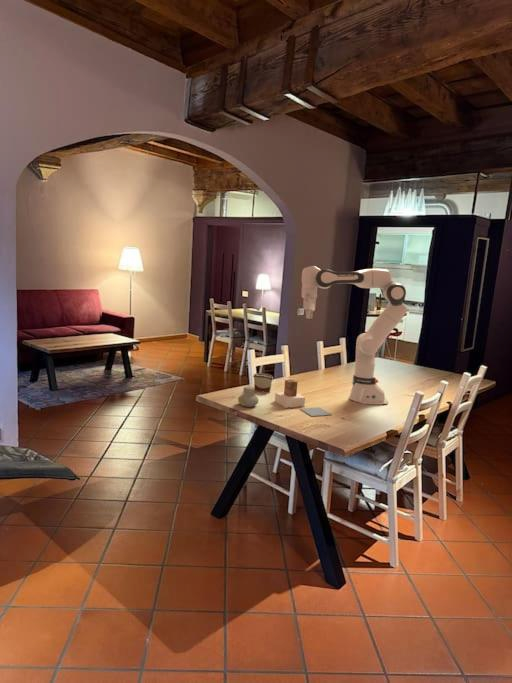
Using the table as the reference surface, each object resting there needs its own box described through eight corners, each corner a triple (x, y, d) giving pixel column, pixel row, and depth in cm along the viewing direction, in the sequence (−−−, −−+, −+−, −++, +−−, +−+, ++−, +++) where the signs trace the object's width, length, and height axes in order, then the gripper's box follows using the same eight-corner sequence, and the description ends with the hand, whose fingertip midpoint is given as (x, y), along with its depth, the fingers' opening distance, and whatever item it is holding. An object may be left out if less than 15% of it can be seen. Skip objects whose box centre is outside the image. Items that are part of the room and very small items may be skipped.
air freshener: (235, 403, 250) (236, 385, 249) (248, 401, 255) (249, 384, 254) (247, 409, 242) (249, 390, 240) (260, 407, 247) (261, 389, 245)
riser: (293, 399, 264) (294, 391, 264) (304, 406, 254) (305, 397, 253) (274, 401, 259) (275, 392, 259) (285, 407, 249) (285, 398, 248)
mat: (319, 408, 253) (319, 407, 252) (331, 415, 242) (331, 414, 242) (300, 409, 247) (300, 408, 247) (311, 416, 237) (311, 415, 237)
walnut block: (291, 393, 259) (293, 379, 258) (296, 396, 255) (297, 381, 253) (284, 394, 257) (285, 379, 256) (288, 396, 252) (289, 382, 251)
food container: (274, 391, 280) (276, 374, 279) (271, 393, 275) (273, 377, 273) (255, 387, 284) (256, 372, 283) (252, 390, 278) (253, 374, 277)
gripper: (312, 292, 256) (311, 317, 256) (317, 295, 276) (317, 319, 276) (300, 293, 258) (300, 317, 258) (306, 295, 277) (306, 319, 278)
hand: (309, 318), depth 267 cm, fingers open, 8 cm apart
